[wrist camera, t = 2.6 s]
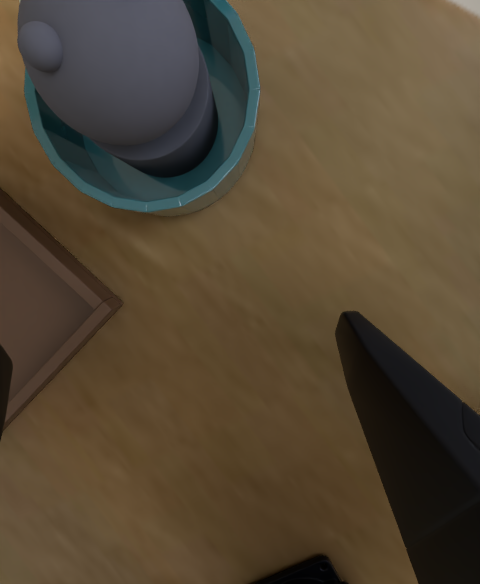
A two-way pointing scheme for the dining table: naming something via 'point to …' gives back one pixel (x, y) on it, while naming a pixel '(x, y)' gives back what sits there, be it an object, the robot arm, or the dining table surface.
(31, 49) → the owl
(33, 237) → the tray
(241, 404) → the dining table surface
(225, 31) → the teal bowl
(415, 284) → the dining table surface
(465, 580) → the robot arm
